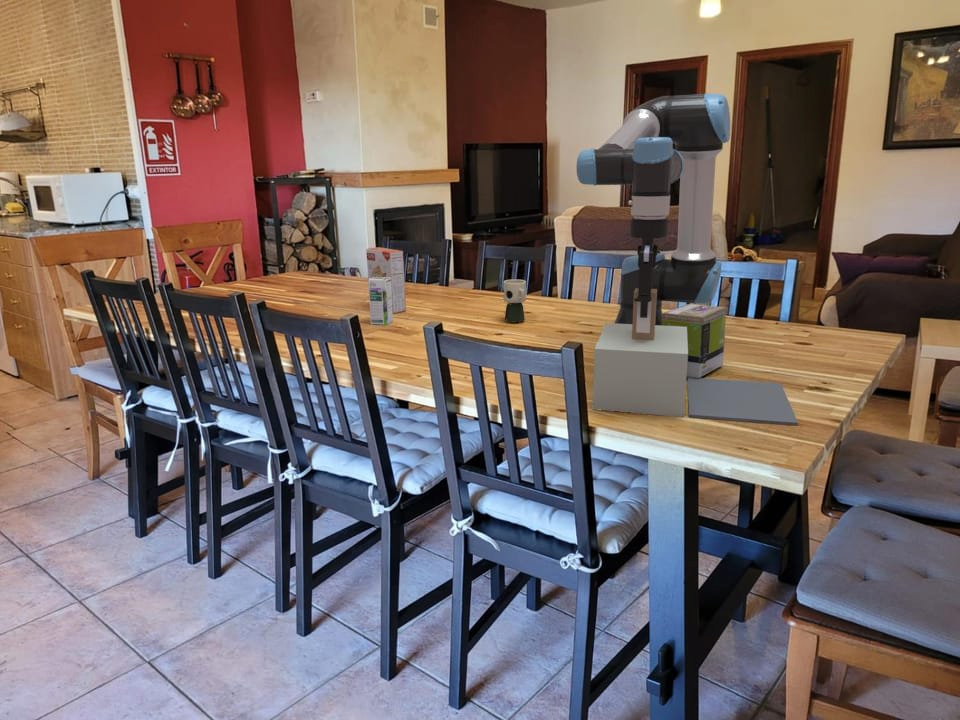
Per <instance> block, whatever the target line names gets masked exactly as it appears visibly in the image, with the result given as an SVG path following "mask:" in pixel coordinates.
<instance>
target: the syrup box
mask: <svg viewBox="0 0 960 720" xmlns="http://www.w3.org/2000/svg"><path fill="white" fill-rule="evenodd" d="M367 279H368V278H367ZM367 281H368V283H367V284H368V287H367V288H368V299H369V300H368V301H369V315H370V317H369V320H370V322H369V323H370V325H371V326H372V325H376V326H379V325H380V326H381V325H382V326H387V325H389V324H391V323H393V322H394V317H393V316H394V314H393V311H392V290H391V277H372V278H370V279H368V280H367Z"/></svg>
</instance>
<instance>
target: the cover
mask: <svg viewBox="0 0 960 720" xmlns="http://www.w3.org/2000/svg"><path fill="white" fill-rule="evenodd" d="M645 295H648V294H645ZM637 296H638V288H635V291H634V298H637ZM656 300H657V289H651V317H650V333H638V332H636V324H637V304H638V302H633V324H615V322H614V323H612V322H611V323H610V322H609V323H608V322H606V323H605V324H604V326H603V328H602V331H601V332H600V336H599V337H598V339H597V342H596V344H595V347H594V349H593V350H594V351H593V352H594V353H593V354H594V355H593V383H592V409H593V408H594V409H601V410H610V411H609V412H614V411H619V413H627V412H631V413H630V414H640V413H641V414H642V415H643V414H644V415H654V416H655V415H657V416H666V417H667V416H669V417H681V418H683V417H685V416H684V415H685V402H686V400H685V399H686V389H687V388H686V386H687V361H688V341H687V327H680V326H658V325H655V318H656ZM601 410H600V411H601Z"/></svg>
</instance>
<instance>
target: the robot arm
mask: <svg viewBox="0 0 960 720" xmlns="http://www.w3.org/2000/svg"><path fill="white" fill-rule="evenodd" d="M730 113H731V112H730V106H729V101H728V99H727V97H726V96H725V95H724V94H721V93H708V92H707V93H697V94H696V93H695V94H683V95H681V94H679V95H662V96H659V97H656V98H653V99H650V100H648V101H646V102H644V103H642V104H640V105H638V106H636V107H635V108H633V109H632V111H630V112H629V113H628V114H626V116H625V118H624V119H623V121H622V124H621V126H620V127H619V128H618V129H617V130H616V131H615V132H614V133H613V134H612V135H611V136H610V137H609V138H608V139H607V140H606V141H605V142H604V143H602V144H601V146H600V147H599V148H598V149H596V148H590V149H583V150H581V151H580V152H579V154H578V157H577V158H576V159H577V160H576V176H577V179H578V182H579V183H580V184H582V185H589V186H590V185H592V186H626V185H627V186H631V200H628V202H627V204H628V205H629V206H631V208H630V215H631V216H632V218H631V219H630V222H629V235H630V237H632V238H634V239H641V245H638V246H637V251H636V253H637V254H636V255H631V256H628V257H625V258H624V260H623V261H622V264H621V266H622V267H621V273H620V301H619V304H620V305H619V309H618V310H619V311H618V313H617V315H616V318H615V321H614V323H615V324H633V302H638V304H637V324H636V332H638V333H650V317H651V289H657V300H656V318H655V325H658V326H662V317H663V313H664V312H663V309H662V308H663V307H662V306H663V302H672V303H687V304H693V305H705V304H706V305H707V304H710V303H711V302H712V301H713V300H714V298H715V296H716V293H717V290H718V287H719V282H720V278H721V273H722V265H723V263H722V262H721V261H718V260H716V259H717V253H716V252H715V251H714V250H713V249H711V245H712V243H711V242H712V226H713V210H714V209H713V208H714V193H715V177H716V175H715V173H716V158H717V156H718V155H719V154H720V153H721V152H722V151H723V149H724V148H723V146H724V144H726V143H728V142H729V141H730V138H731V114H730ZM673 145H675V148H673V147H674V146H673ZM679 179H680V180H679ZM678 180H679V197H678V198H679V199H678V200H679V201H678V223H677V225H678V226H677V246H676V249H675V250H674V251H673V252H672V253H671V257H670V259H667V258H666V256H665V255H666V254H665V253H661V252H660V253H659V252H658V251H659V245H656V243H655V239H664V238H666V237H667V236H668V235H669V233H668V232H669V219H668V218H666V217H668V216H669V215H670V204H671V184H673V183H675V182H676V181H678ZM635 288H638V296H637V298H634V291H635ZM645 294H648V295H645Z"/></svg>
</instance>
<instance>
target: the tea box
mask: <svg viewBox="0 0 960 720" xmlns="http://www.w3.org/2000/svg"><path fill="white" fill-rule="evenodd" d="M662 313H663V317H662V326H680V327H687V341H688V361H687V376H686V378H688V377H692V378H703V377H704V376H705V375H707V374H708V373H710V372H713V371H715V370H716V369H718V368H720V367H722V366H723V365H724V357H725V356H724V355H725V354H724V353H725V351H724V349H725V339H726V338H725V336H726V335H725V334H726V319H727V307H726V306H713V305H707V304H706V305H705V304H694V303H687V304H685V305H682V306H679V307H676V308H673V309H670V310H667V311H665V312H662Z"/></svg>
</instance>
